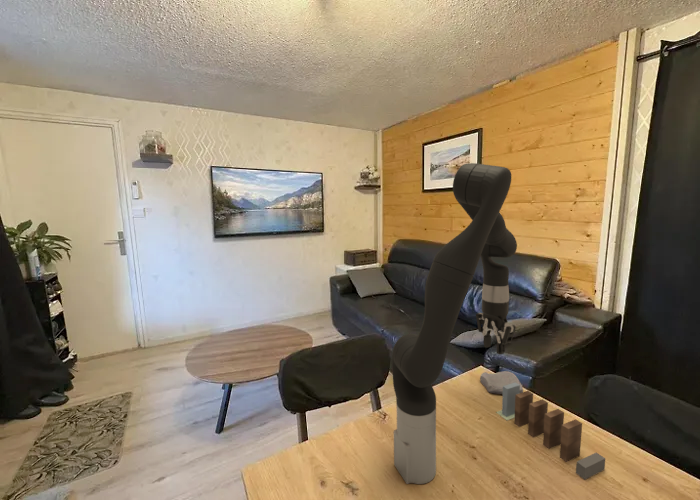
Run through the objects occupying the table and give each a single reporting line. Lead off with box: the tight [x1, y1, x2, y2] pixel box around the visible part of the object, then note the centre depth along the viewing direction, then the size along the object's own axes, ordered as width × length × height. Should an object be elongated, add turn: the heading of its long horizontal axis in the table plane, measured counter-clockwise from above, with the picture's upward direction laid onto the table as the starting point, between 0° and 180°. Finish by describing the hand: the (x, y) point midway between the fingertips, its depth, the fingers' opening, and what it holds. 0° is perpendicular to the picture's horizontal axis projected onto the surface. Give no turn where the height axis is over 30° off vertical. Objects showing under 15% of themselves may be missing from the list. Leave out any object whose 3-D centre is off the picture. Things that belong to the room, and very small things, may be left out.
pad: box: [495, 409, 515, 421], centre depth 95 cm, size 7×4×1 cm, turn 111°
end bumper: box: [575, 452, 606, 480], centre depth 74 cm, size 7×2×3 cm, turn 111°
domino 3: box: [527, 398, 549, 438], centre depth 86 cm, size 5×2×9 cm, turn 111°
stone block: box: [479, 370, 524, 395], centre depth 108 cm, size 12×5×10 cm
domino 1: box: [501, 382, 520, 417], centre depth 95 cm, size 5×2×9 cm, turn 111°
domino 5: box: [559, 418, 583, 463], centre depth 78 cm, size 5×2×9 cm, turn 111°
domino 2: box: [513, 390, 534, 428], centre depth 90 cm, size 5×2×9 cm, turn 111°
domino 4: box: [542, 408, 565, 450], centre depth 82 cm, size 5×2×9 cm, turn 111°
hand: (493, 349), depth 99 cm, fingers open, 4 cm apart
